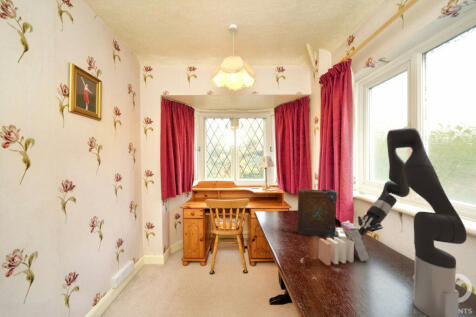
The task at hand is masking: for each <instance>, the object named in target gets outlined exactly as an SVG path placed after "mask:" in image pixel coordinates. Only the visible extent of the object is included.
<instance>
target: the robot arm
mask: <svg viewBox="0 0 476 317" xmlns="http://www.w3.org/2000/svg"><path fill="white" fill-rule="evenodd" d="M386 145H387V146H386V147H387V148H386V149H387V155H388V163H389V164H388V168H389V169H388V170H389V171H388V178H389V180H388V181H386V182H385V183H384V185H383V189H382V192H381V194H380V195H379V197H378V198H377V200H375V201H374V202H373V204H371V205H370V207H369V208H368V209H367V211H366V214H364V215H363V216H357V221H358V226H360V228H358V230H359V232H360V235H361V236H362V237H363V236H365V235H366V234H367V233H368V232H371V233H373V232H377V231H380V230H382V229H384V226H382V224H381V223H382V222H383V221H384V220H385V219H386V217H387V216H388V215H389V213H390V212H391V210H392V208H393V207H394V206H395V204H396V203H397V198H396V197H400V198H405V197H408V196H409V194H410V190H412V191H413V192H414V193H416V194H417V195H418V196H420V197H421V198H422V199H423V200H425V201H426V202H427V204H429V206H430V207H431V209H432V210H433V212H432V211H431V212H429V211H418V212H416V213H415V214H414V217H413V244H414V276H413V277H414V278H413V305H414V306H415V308H416V309H417V310H419V311H420V312H421V313H422V314H424V315H426V316H428V317H459V301H460V300H459V298H460V292H459V290H457V289H456V277H457V276H456V274H457V273H456V272H457V260H456V257H454V255H452V254H451V253H449V252H447V251H445V250H443V249H440V248H439V247H437V246H435V242H439V243H446V244H456V245H462V244H464V243H465V242H466V241H467V230H466V227H465V224H464V223H463V220H462V219H461V216H459V213H458V212H457V210H456V208H455V207H454V205H453V204H452V203H451V201H450V199H449V198H448V196H447V193H446V192H445V190H444V188H443V186H442V184H441V181H440V179H439V176H438V174H437V172H436V170H435V167H434V166H433V164H432V162H431V160H430V158H429V156H428V154H427V151H426V148H425V146H424V142H423V140H422V136H421V133H420V131H419V130H418V129H417V128H416V127H403V128H395V129H390V130H388V132H387V134H386ZM404 148H411V152H410V155H409V157H408V158H407V159H406V161H405V160H403V159H402V158H401V157H400V156H399V154H398V152H397V149H404ZM394 195H395V196H396V197H395V196H394Z"/></svg>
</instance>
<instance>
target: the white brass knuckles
mask: <svg viewBox="0 0 476 317" xmlns="http://www.w3.org/2000/svg"><path fill="white" fill-rule="evenodd" d="M335 236H336V237H338V238H340V239H341V237H343V236H344V237H346V236H345V233H344V231H343V228H342V227H336V233H335ZM361 237H362V238H363V236H361Z"/></svg>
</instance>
